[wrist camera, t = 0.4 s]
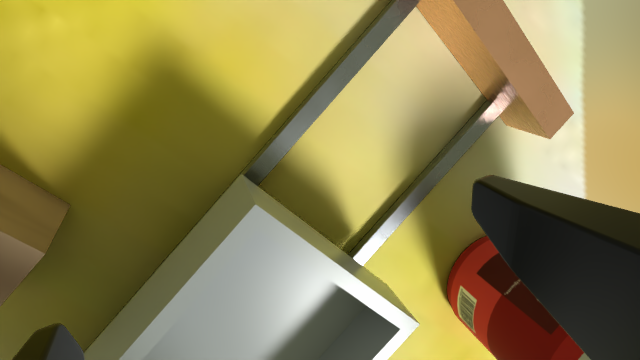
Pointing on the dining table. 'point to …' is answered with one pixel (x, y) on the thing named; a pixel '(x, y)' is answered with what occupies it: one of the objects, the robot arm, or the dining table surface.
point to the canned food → (504, 309)
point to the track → (479, 63)
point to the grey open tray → (257, 294)
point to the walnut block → (24, 227)
